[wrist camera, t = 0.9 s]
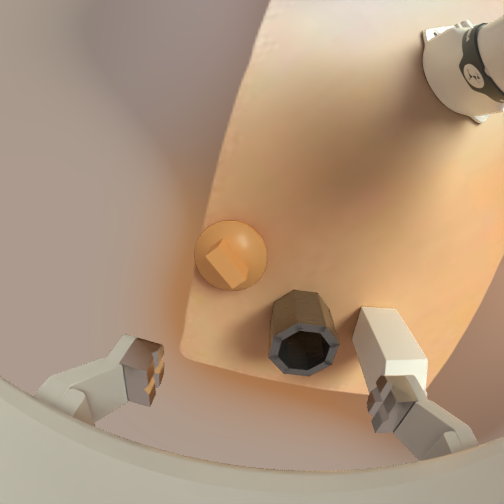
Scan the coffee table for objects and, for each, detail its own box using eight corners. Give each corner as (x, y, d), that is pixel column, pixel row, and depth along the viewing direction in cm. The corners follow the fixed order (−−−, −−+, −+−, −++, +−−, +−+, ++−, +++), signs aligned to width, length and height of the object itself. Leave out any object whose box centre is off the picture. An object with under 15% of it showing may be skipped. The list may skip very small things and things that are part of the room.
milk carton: (360, 305, 48) (394, 380, 30) (395, 308, 47) (438, 377, 29) (351, 338, 50) (375, 415, 32) (384, 339, 50) (417, 411, 32)
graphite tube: (308, 280, 47) (315, 311, 37) (337, 320, 49) (348, 355, 39) (260, 310, 49) (256, 345, 40) (291, 346, 51) (293, 383, 42)
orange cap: (238, 202, 43) (231, 212, 37) (281, 258, 46) (282, 276, 39) (185, 243, 46) (171, 259, 40) (228, 294, 49) (220, 315, 42)
